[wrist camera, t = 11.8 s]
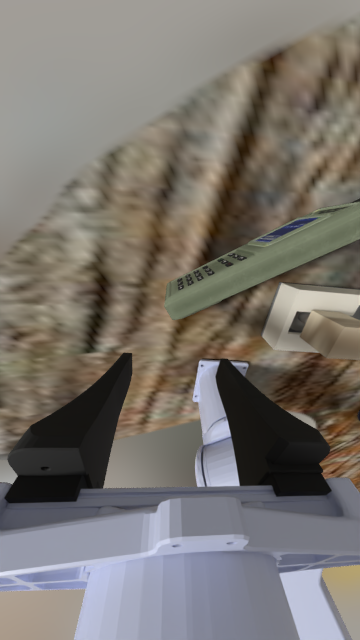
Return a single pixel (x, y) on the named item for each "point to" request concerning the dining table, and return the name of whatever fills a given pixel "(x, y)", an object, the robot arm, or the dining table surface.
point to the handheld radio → (264, 258)
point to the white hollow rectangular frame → (304, 300)
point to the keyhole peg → (330, 333)
